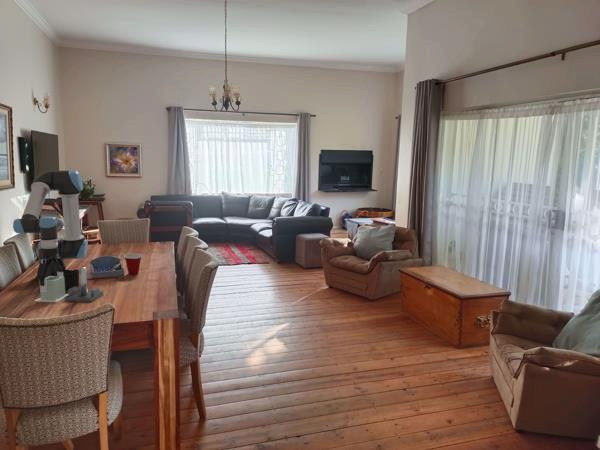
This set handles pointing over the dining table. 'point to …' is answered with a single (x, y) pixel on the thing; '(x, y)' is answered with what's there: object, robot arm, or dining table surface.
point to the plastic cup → (133, 263)
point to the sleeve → (53, 288)
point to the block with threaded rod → (83, 290)
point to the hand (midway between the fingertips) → (52, 287)
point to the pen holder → (71, 278)
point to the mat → (50, 300)
